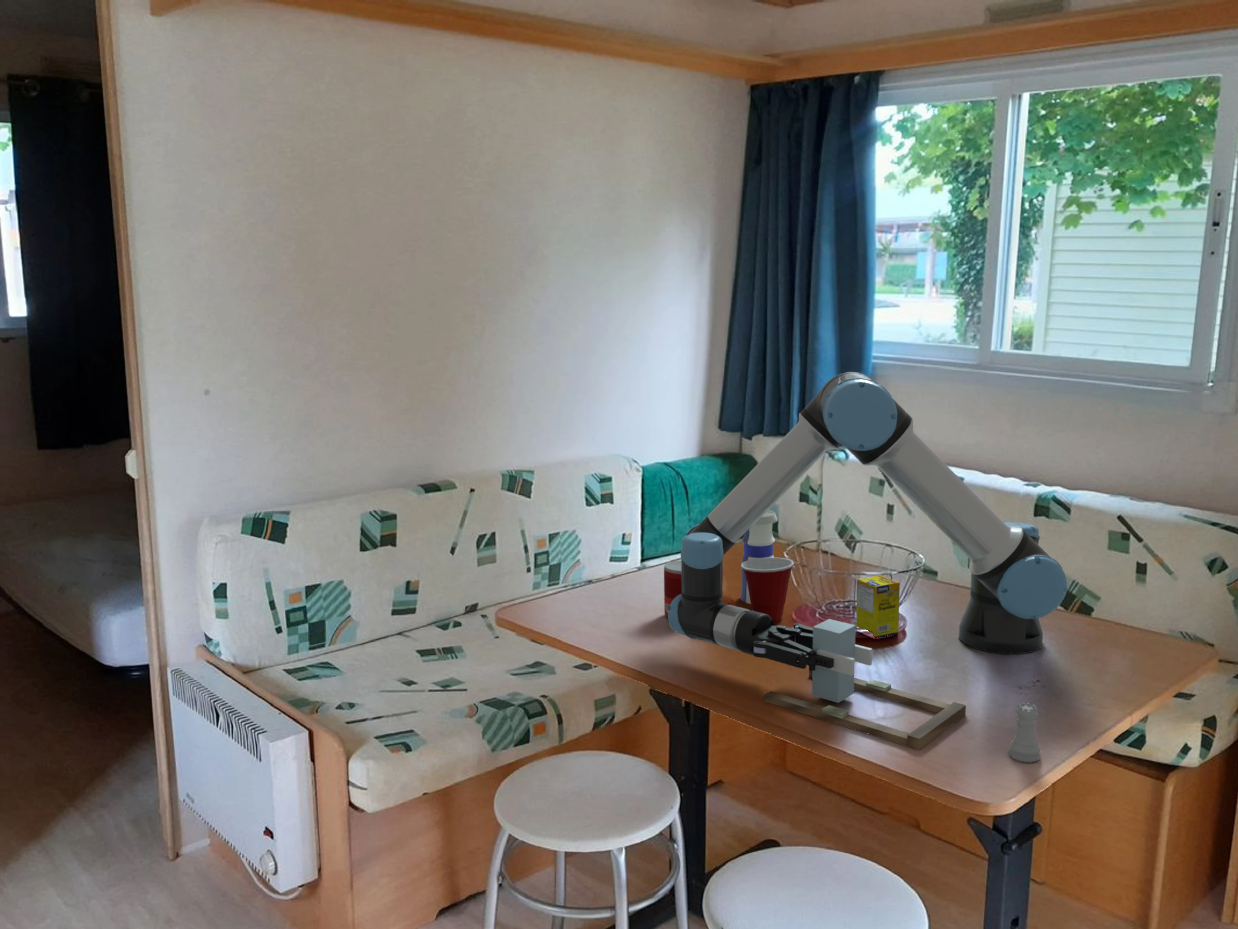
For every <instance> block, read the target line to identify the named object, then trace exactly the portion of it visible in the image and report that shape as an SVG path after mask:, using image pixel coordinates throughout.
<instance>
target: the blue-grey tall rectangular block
mask: <svg viewBox="0 0 1238 929" xmlns="http://www.w3.org/2000/svg"><path fill="white" fill-rule="evenodd" d="M812 628H813V650H814V651H816V654H817V650H819V649H820V650H824V651H828V652H832V653H835V654H839V655H843V656H847V657H850V658H854V659H855V644H856V624H852V623H847V622H843V621H839V620H834V619H831V618H828V619H826V620H825V621H822V622H820V623H818V624H816V625H814V626H813V627H812ZM854 678H855V674H854V675H852V676H851V675H847V674H843V673H840V672H836V671H833V670H829V669H826V668H822V667H818V666H817V665H815V670H814V671H812V677H811V679H812V680H811V696H814V697H817V698H821V699H824V700H826V701H827V700H828V701H831V702H834V703H837V704H839V703H840V702H842V701H844V700H846V698H849V697H851V696H852V695H854V693H855V690H854Z"/></svg>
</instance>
